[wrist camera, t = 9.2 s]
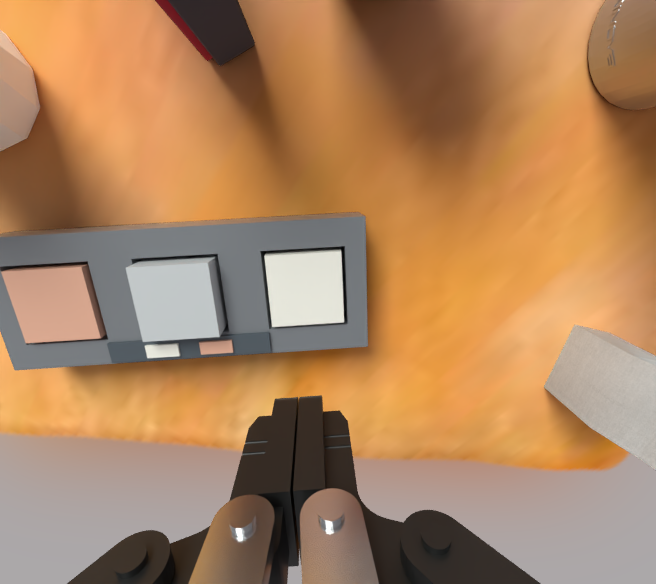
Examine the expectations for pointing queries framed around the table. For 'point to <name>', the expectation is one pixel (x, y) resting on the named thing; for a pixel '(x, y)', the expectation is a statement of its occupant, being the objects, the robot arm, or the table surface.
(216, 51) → the red and grey box
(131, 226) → the keypad housing
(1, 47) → the vase
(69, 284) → the terracotta key
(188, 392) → the table surface
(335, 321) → the cream key
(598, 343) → the pale grey block
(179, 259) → the grey key
